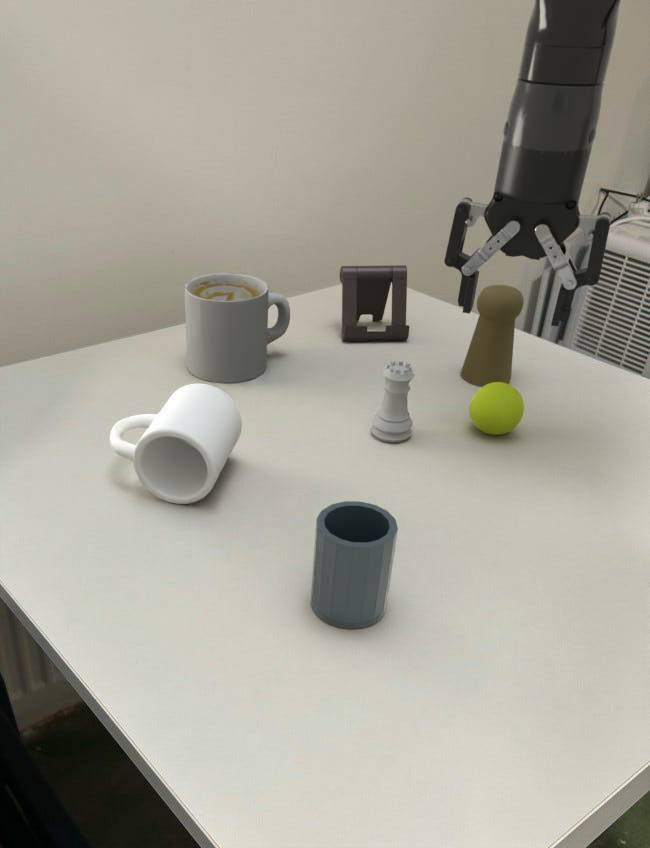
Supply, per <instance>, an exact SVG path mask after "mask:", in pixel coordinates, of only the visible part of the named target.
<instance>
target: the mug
mask: <svg viewBox="0 0 650 848" xmlns="http://www.w3.org/2000/svg"><path fill="white" fill-rule="evenodd" d="M242 425H243V423H242V416H241V413H240V410H239V407H238V406H237V404H236V403H235V401H234V400H233V399H232V397H230V396H229V395H228V394H227V393H226V392H225V391H223V390H222V389H220V388H218V387H216V386H213V385H211V384H208V383H201V382H200V383H198V382H196V383H190V384H186V385H183V386H181V387H180V388H178V389H176V391H174V392H173V393H172V395H171V396H170V397H169V398H168V400H167V401H166V403H165V404H164V405H163V407H162V408H161V409H160V411H159V412H158V413H144V414H143V413H141V414H135V415H131V416H127V417H125V418H122V419H120V420H119V421H117V422H116V423H115V424H114V425H113V426H112V428H111V431H110V433H109V444H110V447H111V449H112V450H113V452H114V453H115V454H117V455H118V456H121V457H122V458H124V459H127V460H130V461H132V463H133V468H134V473H135V475H136V476H137V478H138V480H139V481H140V483H141V484H142V485H143V487H144V488H145V489H146V490H147V491H148V492H150V494H152V495H153V496H155V497H156V498H158V499H161V500H162V501H165V502H168V503H170V504H171V503H172V504H177V505H187V504H193V503H196V502H198V501H201V500H202V499H204V498H205V497H207V495H208V494H209V493H210V492H211V491H212V489H213V488H214V487H215V484H216V482H217V481H218V478H219V477H220V474H221V473H222V471H223V469H224V467H225V465H226V463H227V461H228V460H229V457H230V455H231V454H232V452H233V450H234V448H235V446H236V444H237V442H238V440H239V439H240V436H241V433H242V427H243V426H242ZM140 428H141V429H146V430H145V432H144V433H143V434H142V436H141V437H140V438H139V440H138V441H137V443H136V444H135V443H130V442H128V441H125V440H124V439H122V437H123V435H125V433H126V432H128V431H130V430H132V429H133V430H134V429H140Z"/></svg>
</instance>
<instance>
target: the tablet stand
mask: <svg viewBox="0 0 650 848" xmlns="http://www.w3.org/2000/svg"><path fill="white" fill-rule="evenodd" d="M339 281H340V284H341V339H342V341H343V342H356V341H407V340H408V339H409V335H410V325H409V324H407V302H408V301H407V298H408V297H407V296H408V295H407V294H408V267H407V265H405V264H404V265H396V264H395V265H341V266H340V268H339ZM390 289H391V320H390V321H391V322H390V324H391V325H386V326H385V330H375V331H374V330H373V331H372V330H371V331H368V329H369V327H368V325H357V324H358V323H357V322H359V321H360V319H361V317H362V316H365V315H366V316H367V315H371V317H372V318H371V319H372V322H382V320H383V319H384V316H385V315H384V314H385V310H386V306H387V302H388V298H389V294H390V293H389V292H390Z"/></svg>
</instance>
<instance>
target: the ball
mask: <svg viewBox="0 0 650 848" xmlns="http://www.w3.org/2000/svg"><path fill="white" fill-rule="evenodd" d="M524 411H525V401H524V399H523V396H522V394H521V392H519V391H518V389H517V388H516V387H515V386H513V385H511V384H510V383H508V384H507V383H503V382H493V383H489V384H487V385H485V386H481V387H480V388H479V389H478V390H476V392H475V393H474V395H473V396H472V398H471V400H470V403H469V417H470V419H471V422H472V423H473V425H474V426H475V427H476V428H477V429H478V430H480V431H481V432H483V433H485V434H487V435H492V436H500V435H504V434H507V433H509V432H511V431H512V430H514V429H515V428H516V427H517V426H518V425H519V424H520V422H521V421H522V419H523V416H524Z"/></svg>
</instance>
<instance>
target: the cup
mask: <svg viewBox="0 0 650 848" xmlns="http://www.w3.org/2000/svg"><path fill="white" fill-rule="evenodd" d="M315 520H316V522H315V533H314V534H315V535H314V546H313V547H314V548H313V549H314V550H313V562H312V574H311V576H312V577H311V589H310V606H311V608H312V611H313V612H314V614H315V615H316V616H317V617H318V618H319V619H320V620H321V621H322V622H324V623H326V624H328V625H331V626H333V627H336V628H340V629H346V630H357V629H358V630H359V629H364V628H368V627H371V626H373V625H375V624H376V623H377V622H380V620H382V618H383V616H384V615H385V613H386V609H387V605H388V601H389V600H388V599H389V593H390V586H391V585H390V584H391V578H392V571H393V565H394V558H395V550H396V546H397V545H396V543H397V538H398V531H399V528H398V527H399V526H398V523H397V520H396V518H395V517H394V516H393V515H392V514H391V512H389V511H388V510H387V509H385V508H382V507H380V506H378V505H377V504H373V503H370V502H365V501H358V500H357V501H356V500H355V501H354V500H352V501H351V500H349V501H348V500H347V501H341V502H336V503H332V504H330V505H328V506H327V507H325V508H323V509H322V510H321V511H320V512H319V514H318V516H317V517H316V519H315Z"/></svg>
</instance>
